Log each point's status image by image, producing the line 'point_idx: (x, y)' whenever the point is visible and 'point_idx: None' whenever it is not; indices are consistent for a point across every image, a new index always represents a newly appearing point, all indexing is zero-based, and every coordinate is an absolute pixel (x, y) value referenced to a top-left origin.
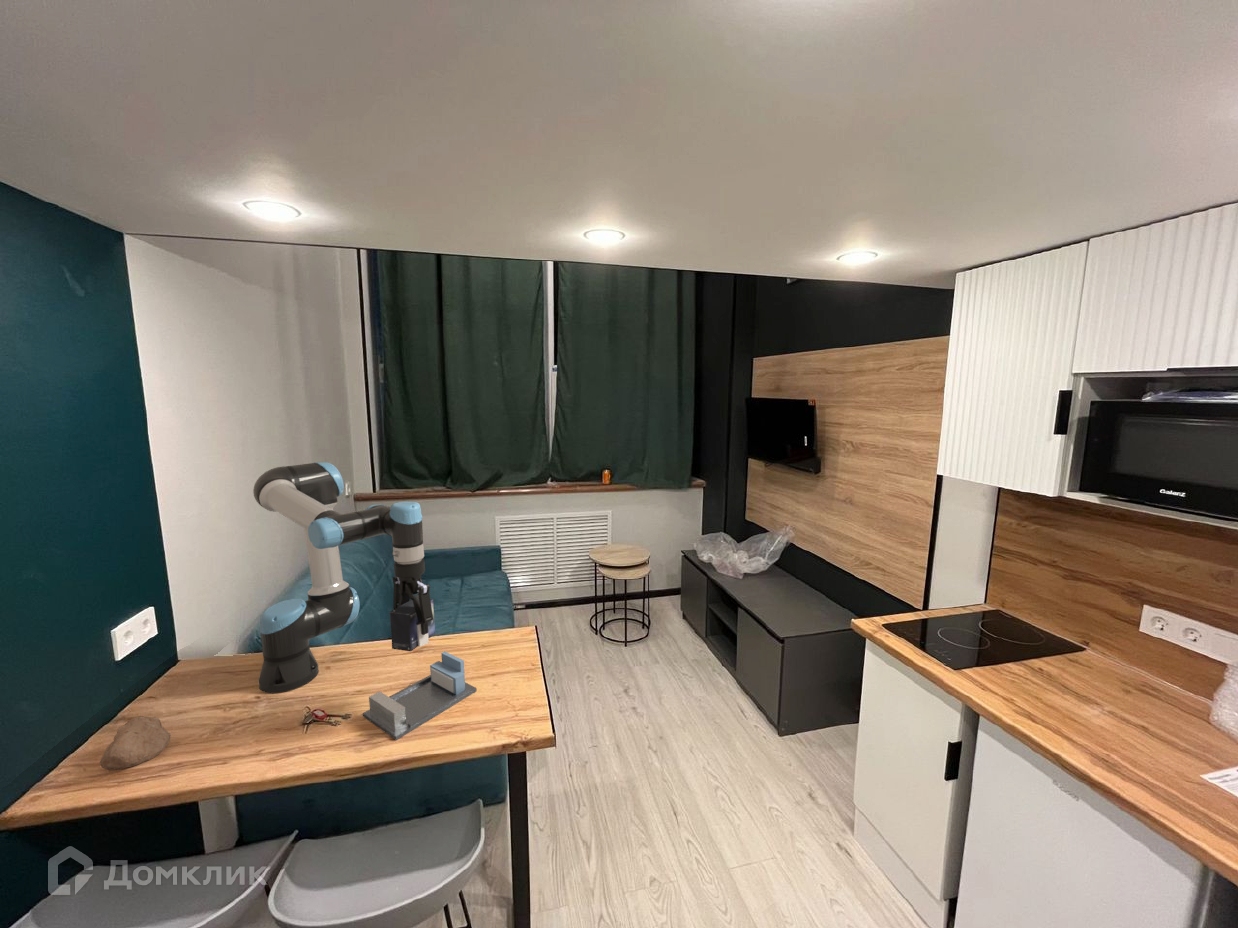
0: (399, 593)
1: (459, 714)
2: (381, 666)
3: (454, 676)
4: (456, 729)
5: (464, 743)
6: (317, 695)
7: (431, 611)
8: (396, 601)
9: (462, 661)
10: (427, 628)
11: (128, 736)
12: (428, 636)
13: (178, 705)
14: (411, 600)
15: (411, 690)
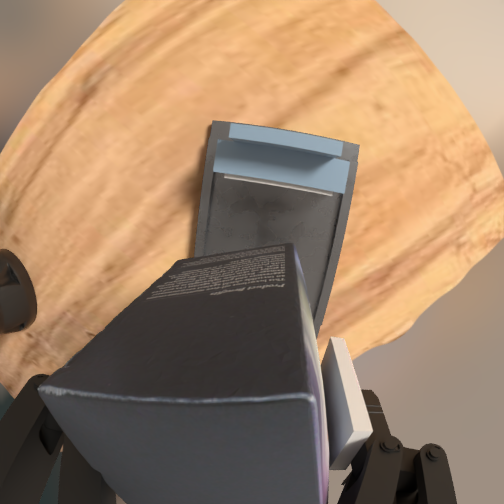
0: (21, 500)
1: (379, 235)
2: (69, 183)
3: (334, 186)
4: (401, 275)
5: (432, 296)
6: (71, 306)
7: (451, 494)
8: (49, 467)
9: (341, 147)
10: (380, 414)
11: (61, 448)
12: (350, 357)
13: (7, 365)
14: (101, 464)
15: (211, 225)
